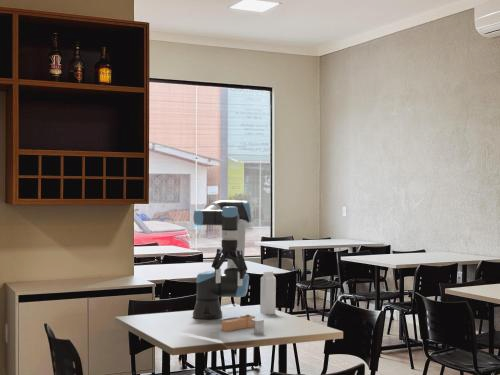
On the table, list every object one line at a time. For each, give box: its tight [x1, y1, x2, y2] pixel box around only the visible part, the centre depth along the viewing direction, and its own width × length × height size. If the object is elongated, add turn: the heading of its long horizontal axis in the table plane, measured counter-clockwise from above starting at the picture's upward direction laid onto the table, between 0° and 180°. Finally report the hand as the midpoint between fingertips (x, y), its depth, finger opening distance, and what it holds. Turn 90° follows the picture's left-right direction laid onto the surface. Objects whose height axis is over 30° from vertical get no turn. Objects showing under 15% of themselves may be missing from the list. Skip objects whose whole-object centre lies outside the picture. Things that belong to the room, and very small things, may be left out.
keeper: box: [251, 317, 265, 335], centre depth 315 cm, size 5×5×6 cm
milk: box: [259, 271, 277, 315], centre depth 370 cm, size 6×6×22 cm
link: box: [221, 314, 256, 332], centre depth 324 cm, size 18×5×4 cm, turn 138°
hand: (229, 284), depth 328 cm, fingers open, 13 cm apart
